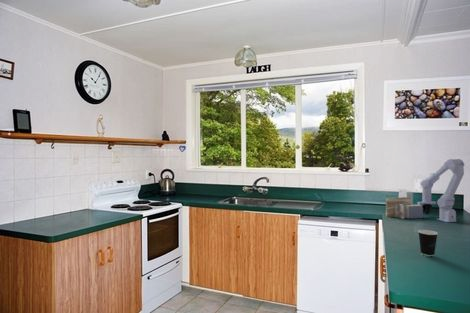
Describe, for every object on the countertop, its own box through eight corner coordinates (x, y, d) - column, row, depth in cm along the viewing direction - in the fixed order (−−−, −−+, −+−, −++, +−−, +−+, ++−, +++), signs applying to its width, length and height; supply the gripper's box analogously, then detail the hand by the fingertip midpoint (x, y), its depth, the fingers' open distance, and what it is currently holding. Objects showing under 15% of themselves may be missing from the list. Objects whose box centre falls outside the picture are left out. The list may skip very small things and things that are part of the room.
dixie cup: (419, 251, 149) (420, 228, 149) (439, 255, 143) (439, 231, 143) (415, 255, 143) (415, 231, 143) (435, 259, 138) (436, 235, 137)
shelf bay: (418, 218, 226) (418, 199, 226) (394, 219, 222) (394, 199, 222) (409, 215, 235) (409, 197, 235) (385, 216, 232) (385, 197, 231)
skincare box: (413, 211, 253) (413, 192, 253) (406, 211, 254) (406, 191, 254) (404, 207, 274) (404, 189, 274) (397, 206, 275) (398, 188, 275)
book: (422, 217, 228) (422, 205, 228) (408, 218, 226) (408, 206, 226) (418, 216, 232) (418, 204, 232) (404, 217, 230) (404, 205, 230)
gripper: (430, 195, 237) (430, 212, 237) (414, 195, 234) (414, 213, 234) (438, 196, 230) (438, 214, 230) (421, 196, 227) (421, 215, 227)
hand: (426, 214), depth 231 cm, fingers closed
